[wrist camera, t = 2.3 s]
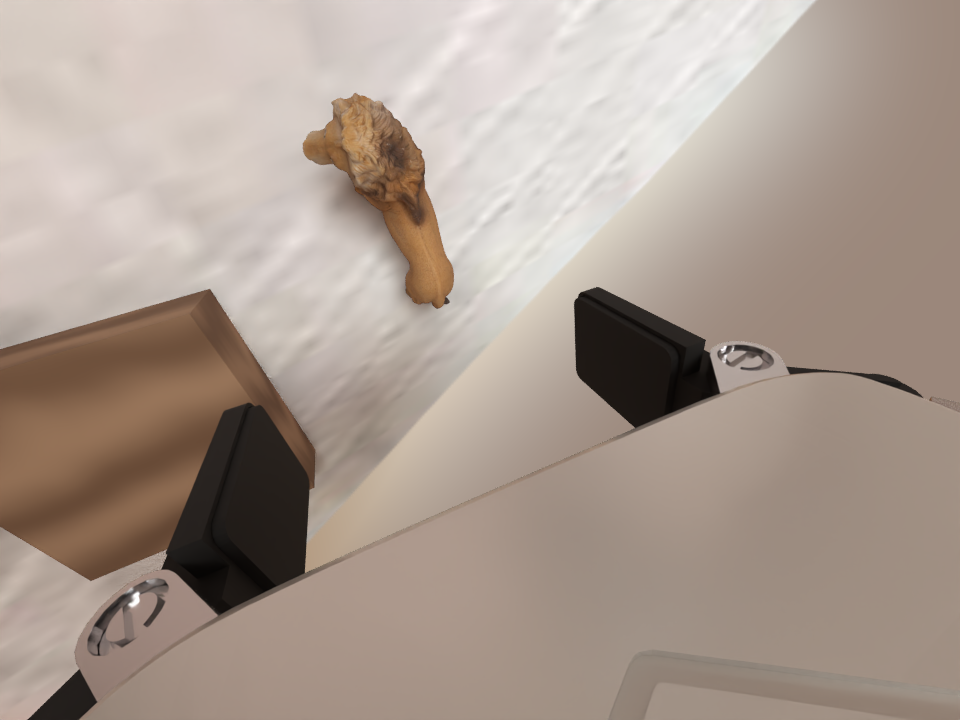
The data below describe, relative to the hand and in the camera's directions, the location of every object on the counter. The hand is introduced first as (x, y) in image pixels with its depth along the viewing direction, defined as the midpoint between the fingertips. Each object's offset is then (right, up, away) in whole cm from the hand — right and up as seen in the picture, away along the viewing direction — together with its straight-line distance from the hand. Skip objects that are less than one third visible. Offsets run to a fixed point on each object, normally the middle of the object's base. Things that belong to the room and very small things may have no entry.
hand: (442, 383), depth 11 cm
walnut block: (-23, -4, +17) cm, 29 cm away
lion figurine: (-5, +11, +16) cm, 20 cm away
